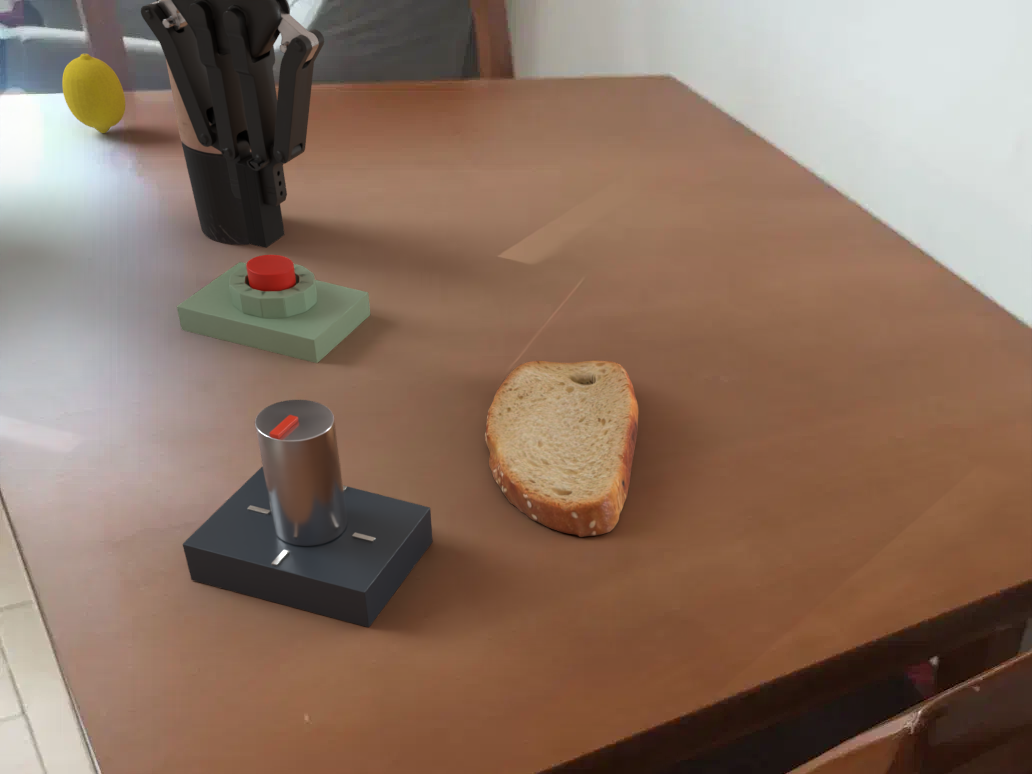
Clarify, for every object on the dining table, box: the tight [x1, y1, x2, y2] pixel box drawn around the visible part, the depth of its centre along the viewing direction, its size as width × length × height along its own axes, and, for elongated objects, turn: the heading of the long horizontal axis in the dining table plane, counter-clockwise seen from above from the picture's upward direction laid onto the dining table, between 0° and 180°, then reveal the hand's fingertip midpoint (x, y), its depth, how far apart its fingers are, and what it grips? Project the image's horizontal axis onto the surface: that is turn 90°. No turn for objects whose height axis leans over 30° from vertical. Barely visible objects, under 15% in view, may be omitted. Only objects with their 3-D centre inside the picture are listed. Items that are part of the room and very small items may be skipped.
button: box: [246, 254, 296, 291], centre depth 92 cm, size 4×4×2 cm
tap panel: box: [182, 465, 434, 628], centre depth 72 cm, size 12×9×3 cm
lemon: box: [61, 53, 126, 134], centre depth 116 cm, size 6×6×8 cm
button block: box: [176, 261, 371, 364], centre depth 93 cm, size 12×9×4 cm
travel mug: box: [155, 0, 252, 246], centre depth 100 cm, size 8×8×20 cm
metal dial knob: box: [254, 399, 347, 546], centre depth 69 cm, size 4×4×8 cm
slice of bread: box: [484, 359, 639, 538], centre depth 86 cm, size 18×18×4 cm
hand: (266, 239), depth 90 cm, fingers closed
